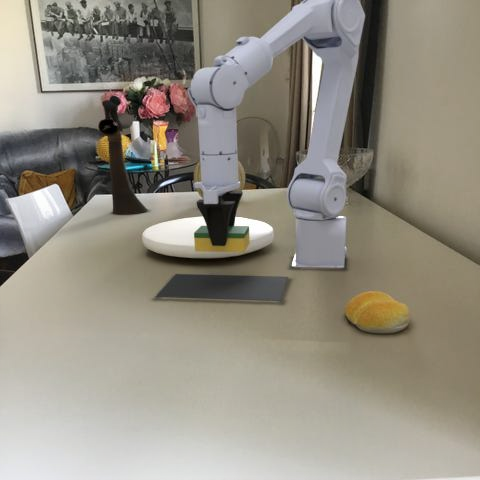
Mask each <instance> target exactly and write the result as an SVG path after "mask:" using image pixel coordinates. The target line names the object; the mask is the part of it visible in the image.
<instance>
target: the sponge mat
mask: <svg viewBox="0 0 480 480" xmlns="http://www.w3.org/2000/svg"><path fill="white" fill-rule="evenodd" d="M288 279H289V276H278V275H277V276H275V275H235V274H233V275H232V274H227V275H226V274H197V273H194V274H193V273H188V274H187V273H175V274H174V276H173V277H171V278H170V280H169V281H168V282H167V283H166V284H165V286H163V287H162V289H161V290H160V291H159V292H158V293H156V295H155V298H171V299H172V298H173V299H174V298H176V299H202V300H203V299H207V300H231V301H232V300H235V301H260V302H261V301H262V302H263V301H264V302H265V301H266V302H267V301H269V302H282V299H283V298H282V297H283V296H284V292H285V289H286V286H287V282H288Z"/></svg>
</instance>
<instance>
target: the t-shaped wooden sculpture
mask: <svg viewBox="0 0 480 480" xmlns="http://www.w3.org/2000/svg"><path fill="white" fill-rule="evenodd" d="M101 104H102V107H103V111H104V113H103V114H104V119H101V120H99V122H98V125H97V126H98V127H97V128H98V131H99V132H100V134H102V136H105V137H107V143H108V144H107V145H108V156H109V157H108V158H109V177H110V186H111V199H112V214H115V215H130V214H131V215H133V214H140V213H146V212H148V208H147V207H146V206H145V205H144V204H143V203H142V202H141V201H140V199H139V198H138V197H137V195H136V193H135V192H134V190H133V188H132V185H131V183H130V179H129V175H128V171H127V168H126V163H125V158H124V149H123V138H122V133H123V130H126V129H129V128H131V127H132V126H133V123H134V119H133V117H132V116H131V115H130V114H128V113H120V114H118V111H119V106H120V105H121V104H122V100H121V98H120V97H119V96H117V95H111V96H110V97H109V99H105V100H103V101H101Z"/></svg>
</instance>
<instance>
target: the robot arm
mask: <svg viewBox="0 0 480 480" xmlns="http://www.w3.org/2000/svg"><path fill="white" fill-rule="evenodd" d="M365 19H366V14H365V11H364V9H363V7H362V3H361V1H360V0H301V2H300V3H298V4H296V5H294V6H292V9H291V10H290V11H289V12H287V14H286V15H285V16H284V17H283V18H281V19H280V20H279V21H278V22H277V23H276V24H275V25H273V27H271V28H270V29H269V30H268V31H266V32H265V34H263V35H262V36H261V37H260V38H259V37H256V36H240V37H239V38H238V39H237V40H236V41H235V43H236V46H234V47H233V48H232V49H231V50H229V51H228V52H227V53H225V54H224V55H217V56H216V57H215V58H214V59H213V61H214V62H213V65H212V66H210V67H203V68H200V69H198V70H197V71H195V73H194V75H193V76H192V79H191V82H190V87H188V88H187V94H188V99H189V100H190V102H191V103H192V105H193V106H194V109H195V118H197V127H198V145H199V161H200V164H201V182H196V183H194V182H193V188H194V189H196V188H201V190H202V191H203V197H204V199H203V198H202V199H201V198H200V199H198V200H197V201H196V207H197V209H198V210H199V212H200V214H201V217H203V218H204V220H205V223H206V226H207V229H208V233H209V237H210V240H211V243H212V246H225V245H226V242H227V236H228V226H234V224H235V217H237V212H238V208H239V204H240V202H241V200H242V197H243V195H244V192H243V190H242V191H232V190H235V189H238V188H239V187H240V182H239V181H238V161H239V157H238V156H239V155H238V129H237V107H238V106H240V105H241V103H242V101H243V99H244V96H245V92H247V90H248V89H250V88H251V87H253V85H255V84H256V83H257V82H259V80H261V79H262V78H263V77H264V76H266V75H267V74H269V73H270V71H271V70H272V68H273V61H274V58H275V57H277V56H278V55H280V54H281V53H283V52H284V51H286V50H287V49H288V48H290V47H291V46H293V45H294V44H295V43H297V42H298V41H301V39H302V40H303V41H304V42H305V44H306V45H307V46H308V47H309V49H310V50H311V51H312V52H313V53H314V54H315V55H316V56H317V57H318V58H320V59H321V62H322V63H323V71H322V75H321V79H320V80H321V81H320V85H319V90H318V97H317V100H316V107H315V112H314V117H313V122H312V126H311V127H312V128H311V133H310V137H309V144H308V149H307V153H306V158H305V159H304V160H303V161H301V162H300V163H299V164H298V165H297V166H296V167H295V168H294V172H293V176H292V178H291V180H290V182H289V184H288V186H287V189H286V203H287V205H288V206H289V207H290V208H291V209H292V215H294V216H295V233H294V235H295V240H294V242H295V243H294V247H295V248H294V255H293V259H292V262H291V265H290V266H291V267H293V268H322V269H323V268H324V269H325V268H326V269H327V268H330V269H344V268H345V258H346V257H348V256H347V255H348V247H347V246H346V235H347V216H341V215H340V213H341V212H342V211H343V210H344V208H345V204H346V201H347V190H346V189H347V188H346V184H347V179H348V175H347V174H346V173H345V171H343V169H342V168H341V167H340V165H339V164H338V160H339V156H340V150H341V146H342V140H343V136H344V131H345V128H346V127H345V126H346V123H347V122H346V121H347V117H348V111H349V106H350V103H351V102H350V101H351V98H352V97H351V96H352V91H353V86H354V82H355V78H356V77H355V76H356V72H357V67H358V61H359V55H360V54H359V53H360V44H361V39H362V33H363V29H364V23H365ZM322 178H323V179H322Z"/></svg>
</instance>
